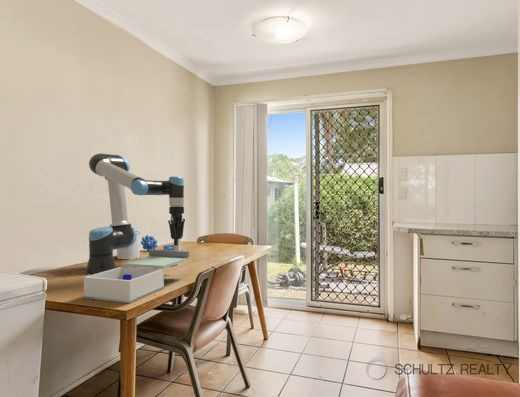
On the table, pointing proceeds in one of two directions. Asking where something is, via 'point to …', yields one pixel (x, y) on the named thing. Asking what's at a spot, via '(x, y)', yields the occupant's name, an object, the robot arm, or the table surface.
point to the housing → (123, 284)
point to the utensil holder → (130, 249)
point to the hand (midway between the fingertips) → (177, 251)
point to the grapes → (149, 243)
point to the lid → (159, 259)
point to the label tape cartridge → (169, 249)
